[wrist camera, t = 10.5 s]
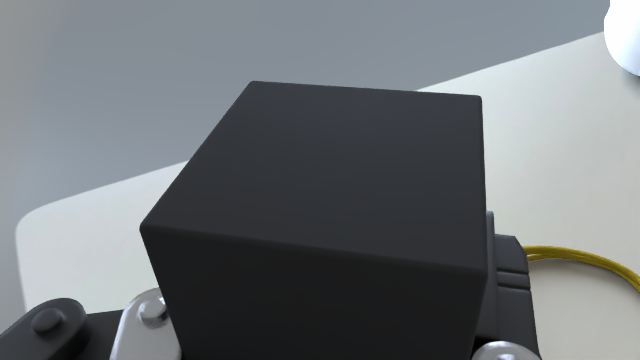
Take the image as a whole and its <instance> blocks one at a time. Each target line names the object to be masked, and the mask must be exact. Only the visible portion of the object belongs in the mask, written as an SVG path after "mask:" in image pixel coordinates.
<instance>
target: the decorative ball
mask: <svg viewBox="0 0 640 360" xmlns="http://www.w3.org/2000/svg"><path fill="white" fill-rule="evenodd" d="M610 3H611V6H610V8H609V11H608V13H607V15H606V17H605V20H604V26H605V39H606V44H607V47H608V49H609V51H610V53H611V55H612V57H613V58H614V59H615V61H616V62H617V63H618V64H619V65H620V66H622V67H623V68H624V69H625V70H627V71H629V72H630V73H632V74H635V75H637V76H640V0H610Z"/></svg>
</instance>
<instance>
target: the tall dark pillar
mask: <svg viewBox="0 0 640 360" xmlns="http://www.w3.org/2000/svg"><path fill="white" fill-rule="evenodd" d="M140 233H141V236H142V239H143V242H144V245H145V248H146V250H147V253H148V256H149V259H150V262H151V265H152V268H153V271H154V273H155V276H156V279H157V282H158V285H159V288H160V291H161V294H162V296H163V299H164V302H165V305H166V308H167V311H168V314H169V317H170V319H171V322H172V325H173V328H174V331H175V334H176V337H177V339H178V342H179V345H180V348H181V350H182V352H183V355H184V357H185V360H470V356H471V352H472V347H473V343H474V338H475V334H476V329H477V325H478V321H479V316H480V312H481V307H482V303H483V298H484V294H485V289H486V285H487V280H488V276H489V266H488V241H487V216H486V190H485V165H484V140H483V114H482V99H481V97H480V96H478V95H464V94H449V93H433V92H418V91H402V90H387V89H372V88H371V89H370V88H356V87H341V86H324V85H310V84H294V83H278V82H262V81H252V82H250V83H249V84H248V85H247V87H246V88H245V89H244V91H243V92H242V93H241V94H240V96H239V97H238V98H237V100H236V101H235V102H234V103H233V105H232V106H231V107H230V109H229V110H228V111H227V113H226V114H225V115H224V116H223V118H222V119H221V120H220V122H219V123H218V124H217V125H216V127H215V128H214V129H213V131H212V132H211V133H210V135H209V136H208V137H207V139H206V140H205V141H204V142H203V144H202V145H201V146H200V147H199V149H198V150H197V151H196V153H195V154H194V155H193V157H192V158H191V159H190V160H189V162H188V163H187V164H186V166H185V167H184V168H183V169H182V171H181V172H180V173H179V175H178V176H177V177H176V179H175V180H174V181H173V182H172V184H171V185H170V186H169V188H168V189H167V190H166V192H165V193H164V194H163V195H162V197H161V198H160V199H159V201H158V202H157V203H156V204H155V206H154V207H153V208H152V210H151V211H150V212H149V214H148V215H147V216H146V217H145V219H144V220H143V221H142V223H141V224H140Z"/></svg>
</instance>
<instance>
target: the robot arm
mask: <svg viewBox="0 0 640 360" xmlns="http://www.w3.org/2000/svg"><path fill="white" fill-rule="evenodd" d="M486 216H487V241H488V266H489V276H488V280H487V285H486V289H485V294H484V298H483V303H482V307H481V312H480V316H479V321H478V325H477V329H476V334H475V338H474V343H473V347H472V352H471V356H470V360H542V358H541V356H540V353H539V349H538V343H537V335H536V327H535V318H534V310H533V302H532V294H531V291H530V288H531V286H530V278H529V276H528V274H529V270H528V262H527V254H526V252H525V251H524V249H523V248H522V246H521V245H520V243H519V242H518V240H517V239H516V237H515V236H508V235H499V234H495V232H494V215H493V212H492V211H486ZM0 360H185V357H184V355H183V352H182V350H181V348H180V345H179V342H178V339H177V337H176V334H175V331H174V328H173V325H172V322H171V319H170V317H169V314H168V311H167V308H166V305H165V302H164V299H163V296H162V294H161V291H160V288H154V289H151V290H148V291H145V292H143V293H141V294H140V295H138V296H137V297H135V298H134V299H133V300H132V301H131V302H130V303H129V304H128V305H127V306H126V308H125V309H123V310H117V311H109V312H101V313H92V314H86V312H85V310H84V308H83V306H82V305H81V304H80V303H79V302H78V301H76V300H73V299H69V298H58V299H53V300H49V301H47V302H44V303H42V304H40V305H38V306H36V307H34V308H33V309H31V310H30V311H29V312H27V313H26V314H25V315H24V316H23V317H21V318H20V319H19V320H18V321H16V322H15V323H14V324H13V325H12V326H10V327H9V328H8V329H7V330H6V331H4V332H3V333H2V334H1V335H0Z"/></svg>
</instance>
